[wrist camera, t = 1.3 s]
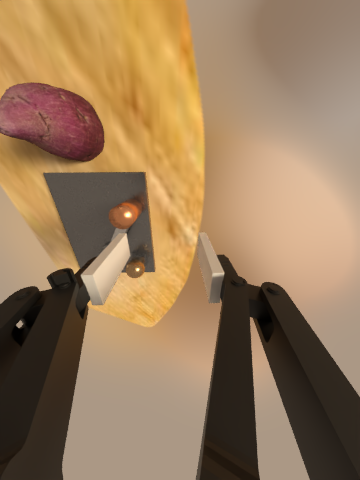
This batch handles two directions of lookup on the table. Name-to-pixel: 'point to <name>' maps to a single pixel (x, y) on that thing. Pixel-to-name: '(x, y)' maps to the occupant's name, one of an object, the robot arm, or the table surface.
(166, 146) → the table surface
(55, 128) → the vegetable
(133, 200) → the lever
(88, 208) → the base
